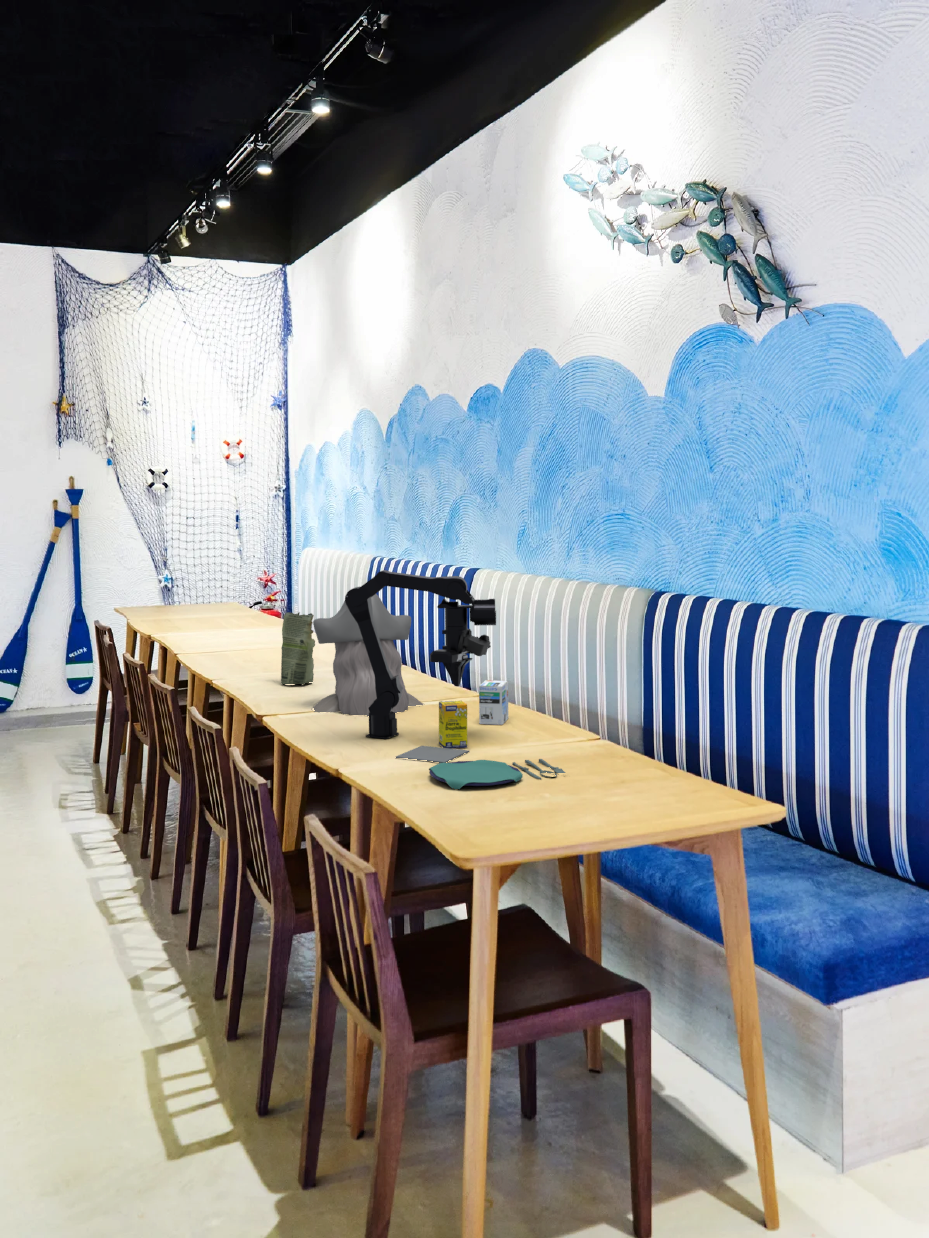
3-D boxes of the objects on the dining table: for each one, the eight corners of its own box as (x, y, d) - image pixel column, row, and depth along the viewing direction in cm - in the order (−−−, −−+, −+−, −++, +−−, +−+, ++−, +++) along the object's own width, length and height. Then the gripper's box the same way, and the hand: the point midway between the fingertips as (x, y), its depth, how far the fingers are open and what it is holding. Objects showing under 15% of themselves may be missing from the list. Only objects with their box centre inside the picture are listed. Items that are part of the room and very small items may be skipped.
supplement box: (444, 749, 250) (444, 705, 249) (438, 744, 256) (438, 701, 255) (468, 748, 252) (467, 703, 251) (461, 742, 257) (461, 699, 256)
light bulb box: (502, 725, 279) (502, 686, 278) (478, 724, 280) (478, 685, 279) (509, 717, 289) (508, 680, 288) (485, 717, 291) (485, 679, 290)
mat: (395, 758, 241) (395, 756, 241) (421, 747, 253) (421, 745, 253) (444, 763, 236) (444, 762, 236) (469, 752, 247) (469, 750, 247)
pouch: (282, 682, 355) (280, 610, 352) (317, 681, 356) (315, 609, 354) (279, 687, 344) (278, 613, 341) (315, 686, 345) (314, 612, 343)
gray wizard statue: (406, 693, 330) (405, 585, 327) (438, 712, 298) (436, 592, 295) (301, 700, 320) (299, 588, 316) (322, 720, 288) (320, 595, 284)
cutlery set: (417, 772, 228) (417, 762, 228) (540, 763, 239) (540, 753, 238) (447, 796, 210) (447, 785, 209) (579, 784, 220) (579, 774, 220)
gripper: (468, 630, 250) (469, 693, 252) (500, 623, 267) (500, 682, 269) (428, 628, 255) (429, 691, 257) (461, 621, 272) (462, 680, 273)
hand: (457, 686), depth 264 cm, fingers closed
